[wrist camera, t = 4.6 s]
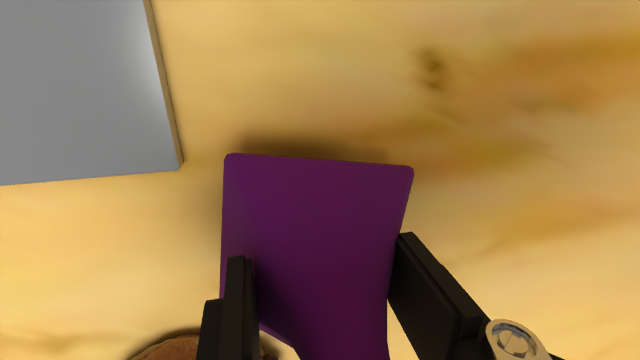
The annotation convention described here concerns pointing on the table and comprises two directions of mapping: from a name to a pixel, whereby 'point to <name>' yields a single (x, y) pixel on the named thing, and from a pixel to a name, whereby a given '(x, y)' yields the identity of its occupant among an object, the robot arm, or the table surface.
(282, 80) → the table surface
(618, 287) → the table surface
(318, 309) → the perfume bottle
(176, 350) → the bread roll
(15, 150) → the slate tile
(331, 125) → the table surface
